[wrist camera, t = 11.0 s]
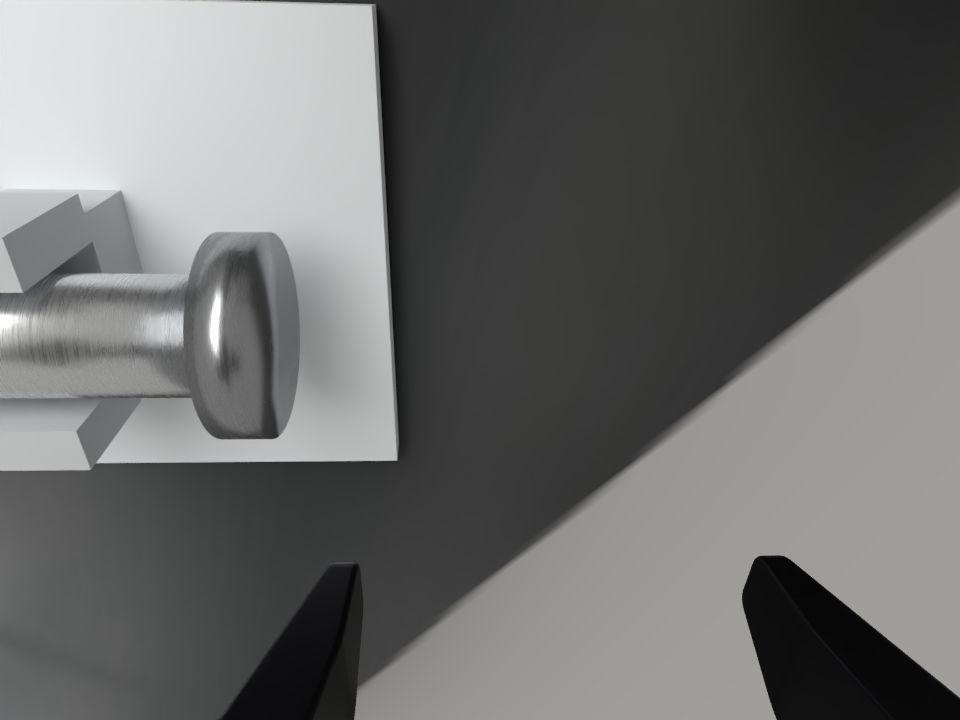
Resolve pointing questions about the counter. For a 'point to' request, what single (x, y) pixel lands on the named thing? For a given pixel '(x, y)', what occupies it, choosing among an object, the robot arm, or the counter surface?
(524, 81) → the counter surface
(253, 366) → the shaft
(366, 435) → the bearing rail
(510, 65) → the counter surface
